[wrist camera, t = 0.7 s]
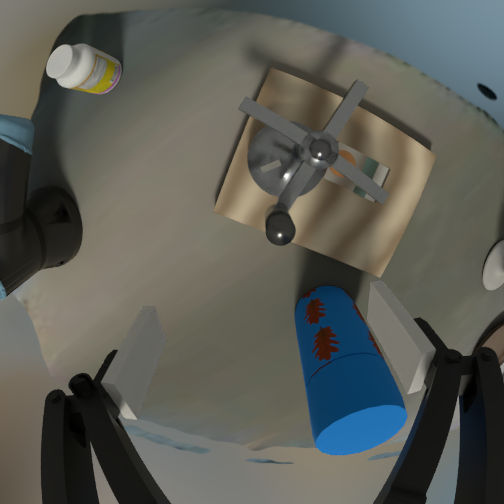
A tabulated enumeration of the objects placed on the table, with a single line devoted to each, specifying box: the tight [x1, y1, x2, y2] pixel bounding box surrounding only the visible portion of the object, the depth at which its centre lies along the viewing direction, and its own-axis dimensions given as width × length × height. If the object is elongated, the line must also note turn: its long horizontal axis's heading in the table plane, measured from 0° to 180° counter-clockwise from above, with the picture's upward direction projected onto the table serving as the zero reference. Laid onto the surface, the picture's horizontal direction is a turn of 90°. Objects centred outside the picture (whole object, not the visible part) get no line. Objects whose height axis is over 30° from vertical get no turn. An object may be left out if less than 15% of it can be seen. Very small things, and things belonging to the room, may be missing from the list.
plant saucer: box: [473, 323, 504, 366], centre depth 50 cm, size 21×21×3 cm
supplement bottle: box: [46, 44, 122, 94], centre depth 27 cm, size 7×7×13 cm
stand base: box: [213, 68, 436, 277], centre depth 37 cm, size 28×22×2 cm
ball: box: [329, 150, 356, 177], centre depth 33 cm, size 4×4×4 cm
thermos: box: [295, 286, 407, 455], centre depth 35 cm, size 11×11×25 cm
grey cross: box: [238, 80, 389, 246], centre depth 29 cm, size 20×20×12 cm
